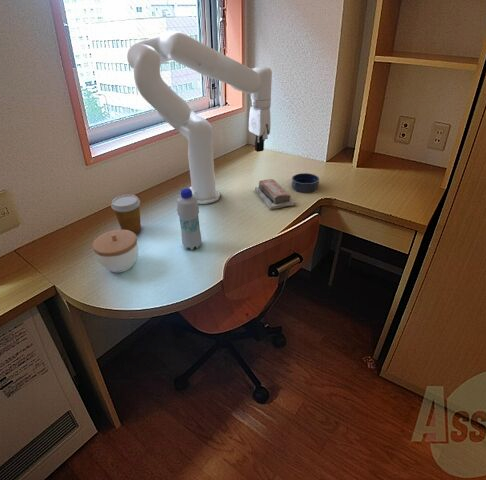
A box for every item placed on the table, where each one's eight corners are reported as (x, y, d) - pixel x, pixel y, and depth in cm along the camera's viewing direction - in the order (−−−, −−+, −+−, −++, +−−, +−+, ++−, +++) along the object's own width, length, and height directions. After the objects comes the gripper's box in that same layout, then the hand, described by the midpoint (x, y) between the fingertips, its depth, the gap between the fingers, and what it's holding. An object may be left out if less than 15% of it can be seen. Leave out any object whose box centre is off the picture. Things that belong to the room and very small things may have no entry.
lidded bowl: (141, 250, 115) (134, 220, 109) (143, 273, 105) (136, 242, 99) (100, 257, 113) (91, 227, 107) (99, 282, 103) (89, 250, 96)
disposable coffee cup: (133, 221, 131) (127, 191, 125) (151, 228, 126) (145, 198, 120) (112, 232, 125) (104, 202, 119) (129, 241, 120) (122, 209, 114)
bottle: (202, 239, 119) (197, 184, 108) (202, 250, 113) (196, 193, 102) (182, 240, 119) (175, 185, 108) (181, 252, 113) (173, 195, 102)
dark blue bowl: (301, 195, 142) (301, 186, 140) (286, 185, 150) (287, 176, 148) (323, 189, 145) (324, 180, 143) (308, 180, 154) (309, 171, 152)
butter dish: (254, 180, 145) (276, 176, 147) (254, 191, 147) (276, 187, 150) (271, 198, 130) (296, 194, 132) (270, 210, 133) (295, 205, 135)
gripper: (243, 100, 140) (242, 147, 150) (261, 108, 128) (259, 157, 138) (260, 98, 142) (258, 144, 152) (279, 106, 131) (276, 154, 141)
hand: (259, 150), depth 145 cm, fingers closed
